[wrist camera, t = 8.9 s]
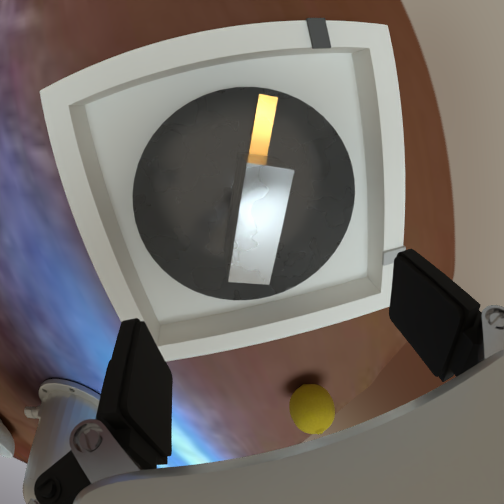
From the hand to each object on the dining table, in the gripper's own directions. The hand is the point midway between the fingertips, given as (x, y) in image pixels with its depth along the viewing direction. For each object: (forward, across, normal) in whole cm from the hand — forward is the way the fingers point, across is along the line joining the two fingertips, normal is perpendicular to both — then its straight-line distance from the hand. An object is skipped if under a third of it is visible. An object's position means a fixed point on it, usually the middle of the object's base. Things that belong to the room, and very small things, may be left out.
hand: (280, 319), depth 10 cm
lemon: (+16, -4, +26) cm, 31 cm away
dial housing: (+15, -1, -1) cm, 15 cm away
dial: (+13, -1, -1) cm, 13 cm away
